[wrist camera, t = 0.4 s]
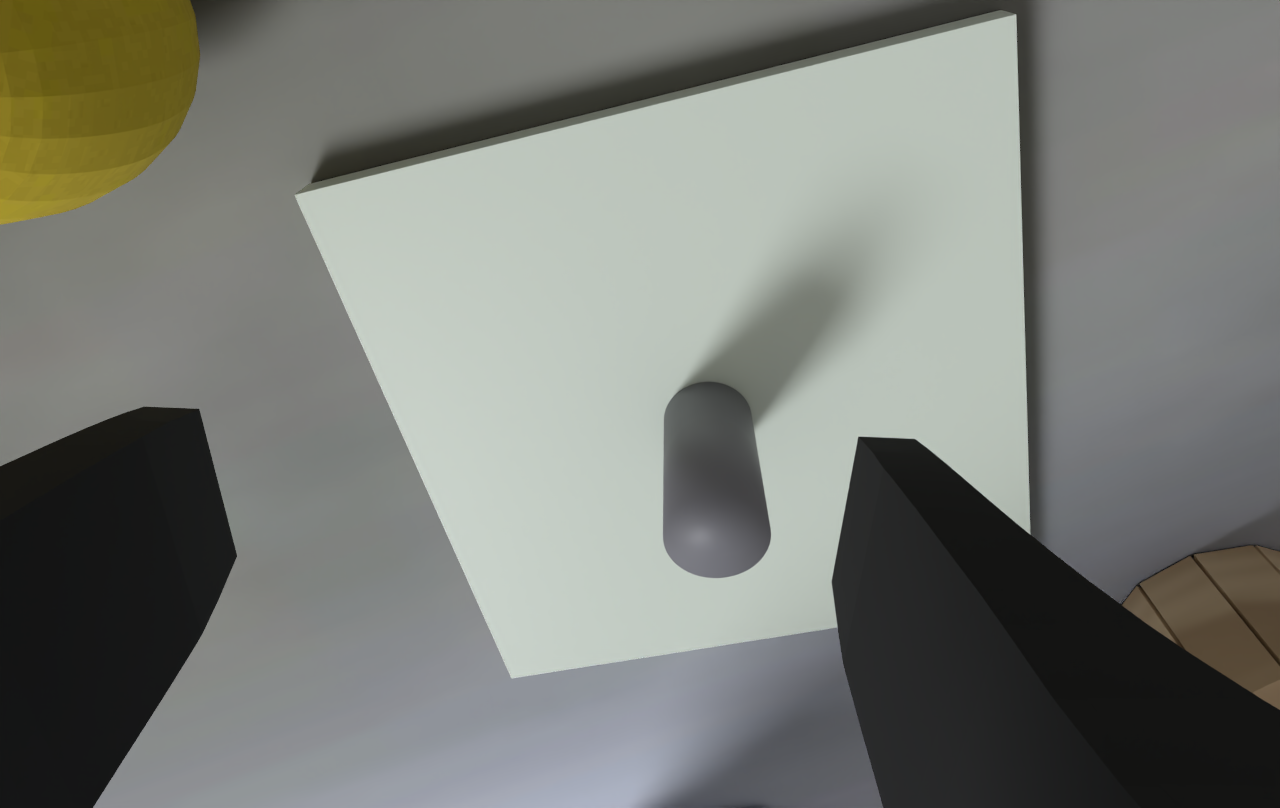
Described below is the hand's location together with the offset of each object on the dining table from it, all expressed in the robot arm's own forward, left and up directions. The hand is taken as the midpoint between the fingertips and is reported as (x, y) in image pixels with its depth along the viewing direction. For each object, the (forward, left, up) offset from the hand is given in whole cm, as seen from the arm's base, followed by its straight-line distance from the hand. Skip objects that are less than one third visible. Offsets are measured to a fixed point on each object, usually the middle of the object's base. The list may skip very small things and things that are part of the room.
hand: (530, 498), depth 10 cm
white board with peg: (-5, -1, -10) cm, 11 cm away
